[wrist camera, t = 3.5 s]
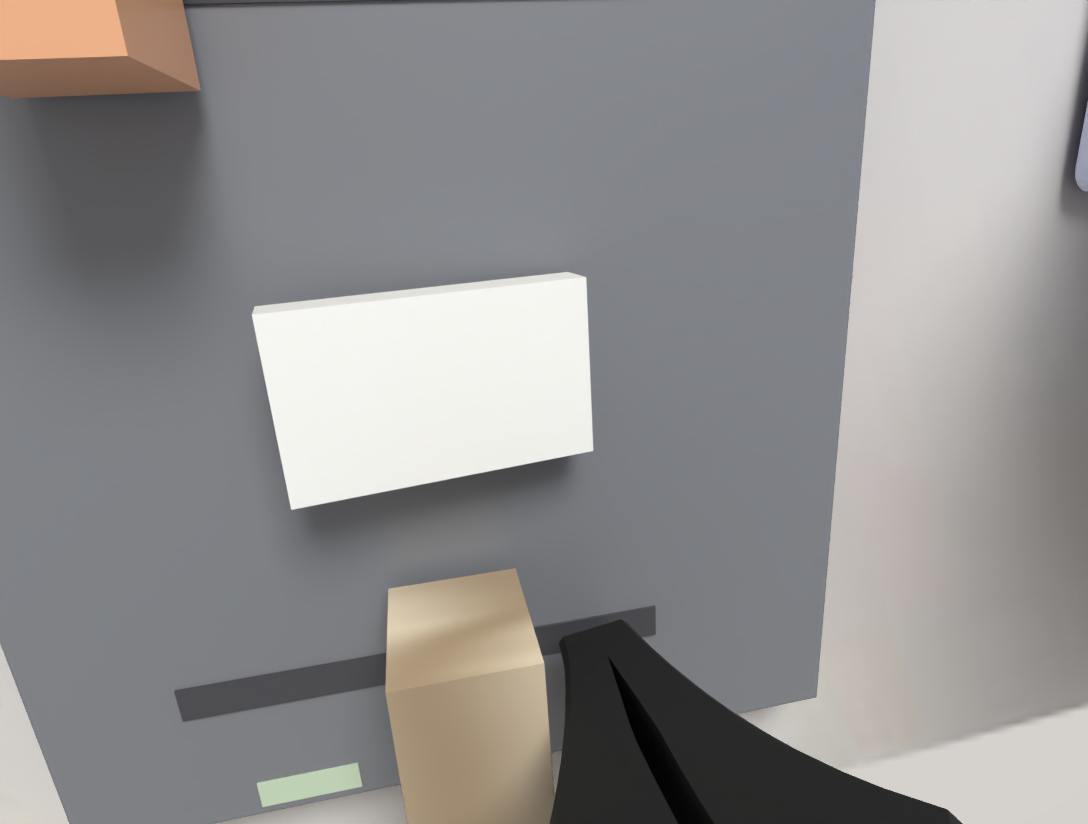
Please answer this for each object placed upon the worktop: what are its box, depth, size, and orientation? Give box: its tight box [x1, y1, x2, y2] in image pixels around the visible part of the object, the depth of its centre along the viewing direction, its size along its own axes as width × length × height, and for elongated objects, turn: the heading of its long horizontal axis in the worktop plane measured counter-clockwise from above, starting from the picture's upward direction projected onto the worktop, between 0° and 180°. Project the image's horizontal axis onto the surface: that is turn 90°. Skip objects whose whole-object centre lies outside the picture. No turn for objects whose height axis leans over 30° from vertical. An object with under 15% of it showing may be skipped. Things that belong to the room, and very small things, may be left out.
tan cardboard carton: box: [385, 568, 554, 824], centre depth 12 cm, size 2×4×3 cm, turn 4°
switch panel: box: [0, 0, 875, 824], centre depth 12 cm, size 16×19×2 cm
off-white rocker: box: [252, 272, 593, 510], centre depth 11 cm, size 5×3×1 cm, turn 94°
